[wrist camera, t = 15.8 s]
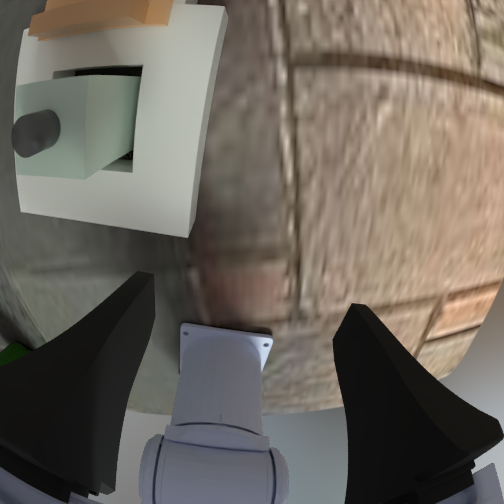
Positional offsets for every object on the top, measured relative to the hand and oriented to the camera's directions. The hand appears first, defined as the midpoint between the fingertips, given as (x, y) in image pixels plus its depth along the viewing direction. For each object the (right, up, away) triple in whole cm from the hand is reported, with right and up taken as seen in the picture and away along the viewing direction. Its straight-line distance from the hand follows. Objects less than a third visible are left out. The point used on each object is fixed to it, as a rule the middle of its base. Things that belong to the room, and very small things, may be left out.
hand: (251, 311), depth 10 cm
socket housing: (-8, +13, +3) cm, 16 cm away
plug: (-9, +11, +4) cm, 15 cm away
